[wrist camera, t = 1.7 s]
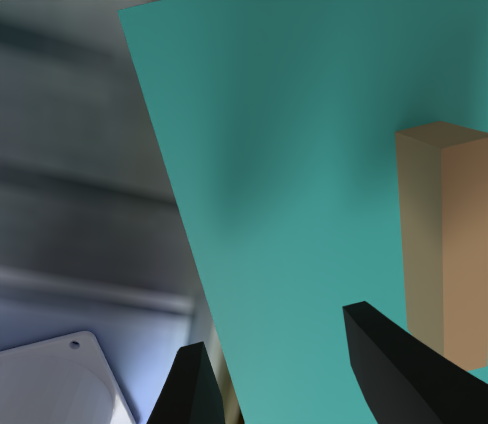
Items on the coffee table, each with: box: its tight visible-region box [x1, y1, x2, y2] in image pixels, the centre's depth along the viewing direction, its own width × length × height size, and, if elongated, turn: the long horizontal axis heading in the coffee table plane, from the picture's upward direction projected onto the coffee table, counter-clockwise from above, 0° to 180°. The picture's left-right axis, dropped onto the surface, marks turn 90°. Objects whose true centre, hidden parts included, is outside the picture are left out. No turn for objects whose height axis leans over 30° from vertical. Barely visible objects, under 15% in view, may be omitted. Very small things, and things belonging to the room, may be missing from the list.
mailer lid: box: [117, 0, 488, 424], centre depth 13 cm, size 14×18×3 cm
